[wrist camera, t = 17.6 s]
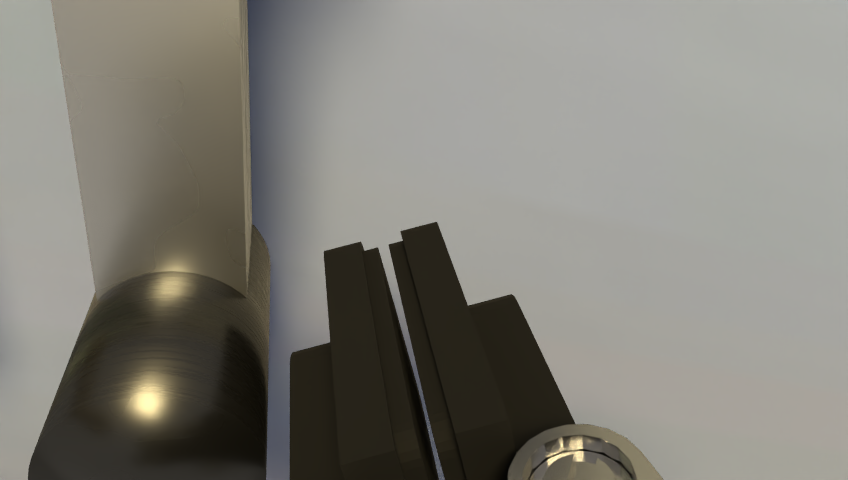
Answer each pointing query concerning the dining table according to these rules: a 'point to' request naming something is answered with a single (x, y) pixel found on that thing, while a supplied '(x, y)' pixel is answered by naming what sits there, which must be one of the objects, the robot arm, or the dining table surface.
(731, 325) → the dining table surface
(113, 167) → the crank
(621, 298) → the dining table surface
